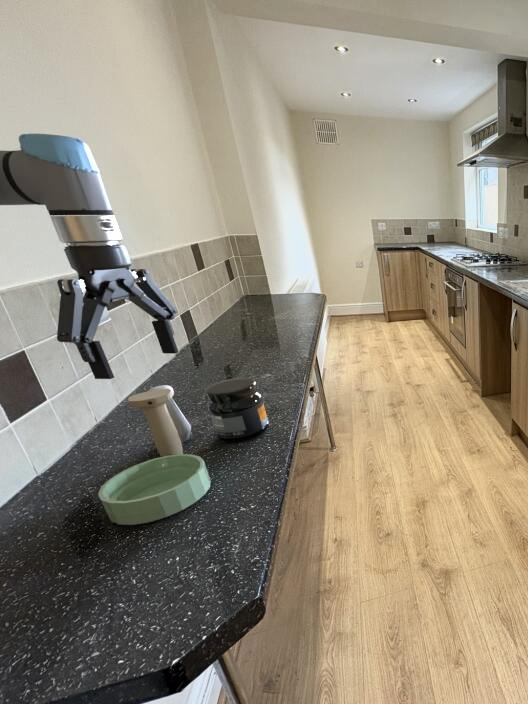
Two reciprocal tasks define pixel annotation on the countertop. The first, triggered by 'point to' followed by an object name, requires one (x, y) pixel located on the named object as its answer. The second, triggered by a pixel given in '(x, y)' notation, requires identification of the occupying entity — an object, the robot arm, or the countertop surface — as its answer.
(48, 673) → the countertop surface
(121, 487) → the bowl
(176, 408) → the salt shaker
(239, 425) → the supplement container
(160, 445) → the handle
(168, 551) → the countertop surface
